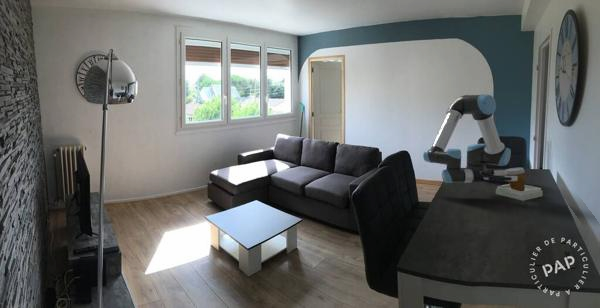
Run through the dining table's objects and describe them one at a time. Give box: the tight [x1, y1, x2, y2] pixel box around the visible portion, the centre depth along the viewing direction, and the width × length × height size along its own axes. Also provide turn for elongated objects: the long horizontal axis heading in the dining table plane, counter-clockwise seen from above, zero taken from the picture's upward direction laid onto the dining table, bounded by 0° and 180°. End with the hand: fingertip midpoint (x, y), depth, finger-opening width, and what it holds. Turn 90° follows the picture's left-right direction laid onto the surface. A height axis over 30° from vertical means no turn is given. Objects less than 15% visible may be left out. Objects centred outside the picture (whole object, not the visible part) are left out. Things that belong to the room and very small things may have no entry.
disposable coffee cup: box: [504, 167, 526, 191], centre depth 193 cm, size 10×10×12 cm
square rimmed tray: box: [495, 183, 544, 202], centre depth 196 cm, size 16×16×4 cm
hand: (511, 175), depth 195 cm, fingers open, 13 cm apart
